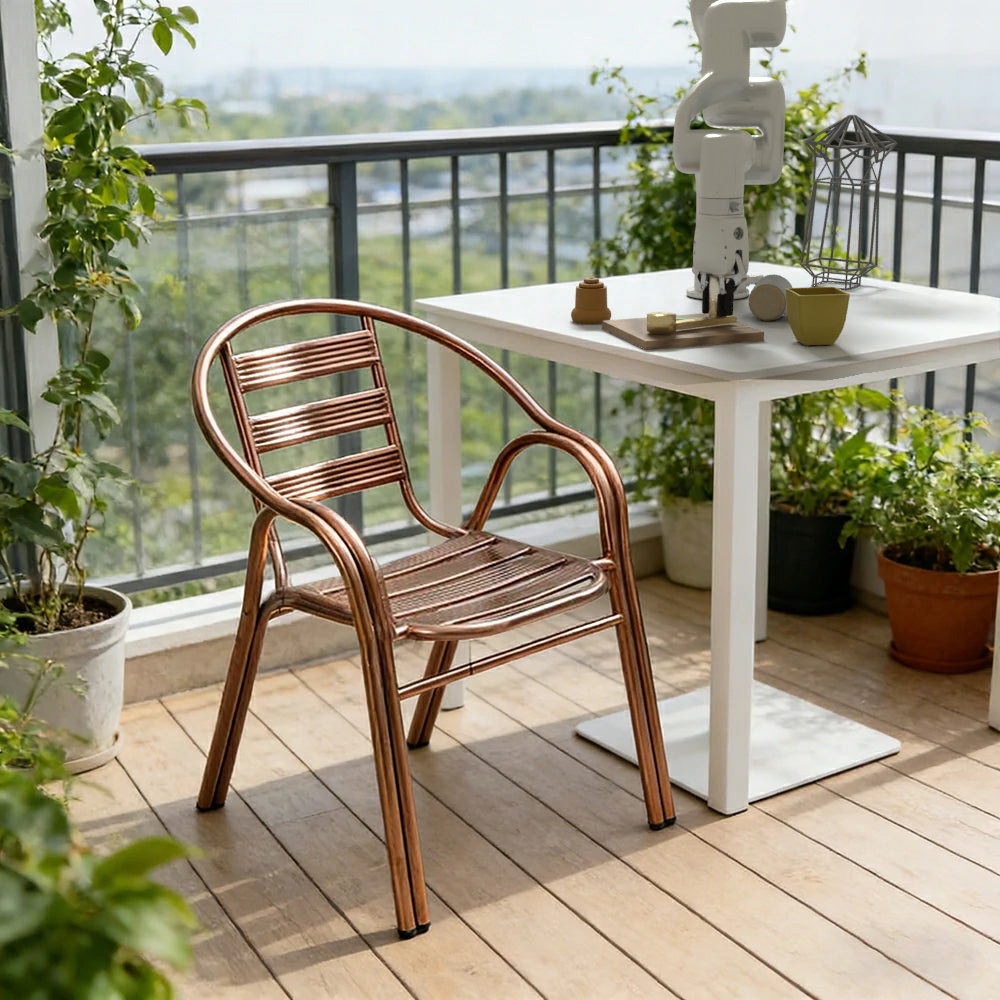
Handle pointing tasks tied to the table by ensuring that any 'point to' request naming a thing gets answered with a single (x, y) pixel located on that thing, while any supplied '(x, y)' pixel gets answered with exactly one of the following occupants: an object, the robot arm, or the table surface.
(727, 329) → the brown flat wooden board
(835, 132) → the geometric lantern
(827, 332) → the flower pot
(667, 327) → the lever
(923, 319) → the table surface
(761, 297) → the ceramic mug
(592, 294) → the ornamental finial
